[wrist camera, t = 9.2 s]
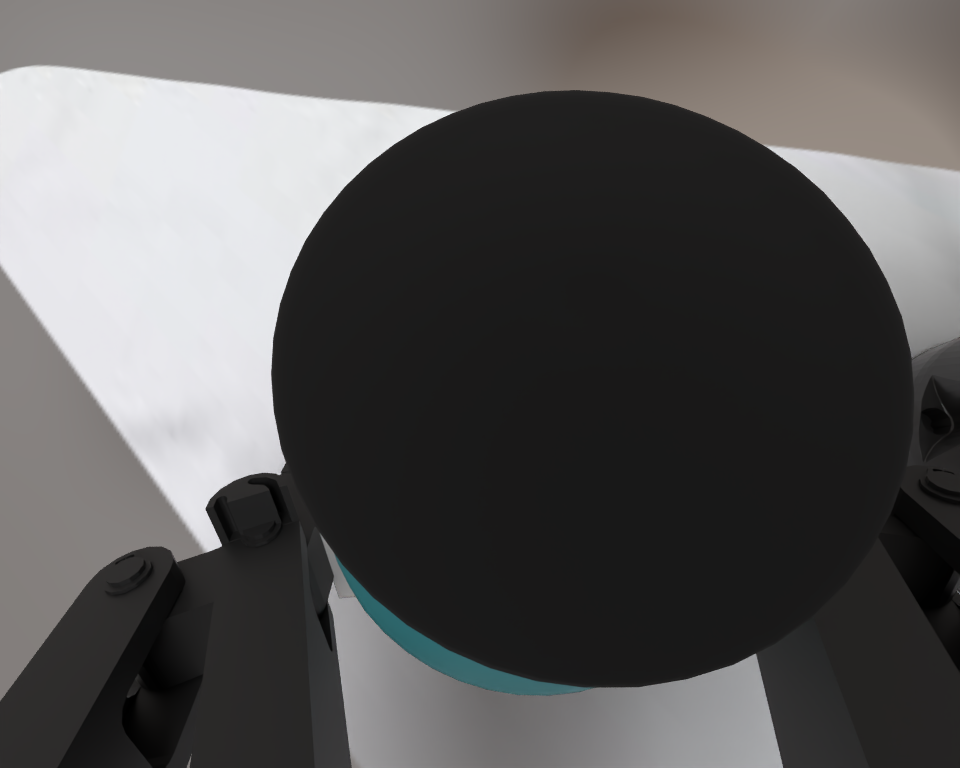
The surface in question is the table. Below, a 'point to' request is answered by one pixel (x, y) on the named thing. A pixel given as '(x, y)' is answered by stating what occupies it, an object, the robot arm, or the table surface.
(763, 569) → the beverage bottle
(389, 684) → the table surface
